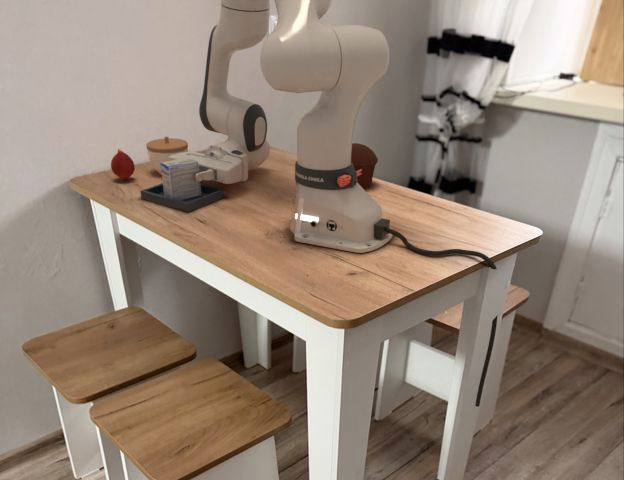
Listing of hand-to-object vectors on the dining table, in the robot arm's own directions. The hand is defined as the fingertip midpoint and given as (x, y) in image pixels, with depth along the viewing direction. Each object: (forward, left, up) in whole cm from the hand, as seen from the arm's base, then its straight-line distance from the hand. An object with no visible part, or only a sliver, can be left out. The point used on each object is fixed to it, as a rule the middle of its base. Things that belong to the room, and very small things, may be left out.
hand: (182, 174), depth 142 cm
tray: (0, +1, -6) cm, 6 cm away
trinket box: (+17, -12, -6) cm, 22 cm away
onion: (+22, 0, -6) cm, 23 cm away
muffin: (-28, -33, -6) cm, 44 cm away
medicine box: (0, +1, -6) cm, 6 cm away
